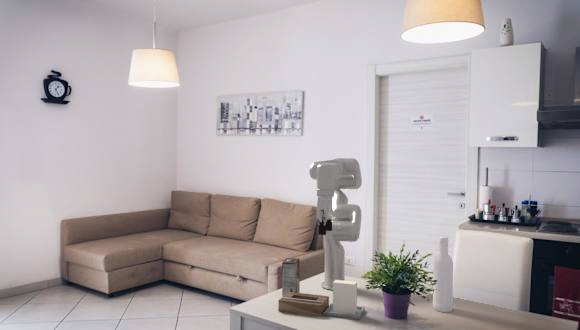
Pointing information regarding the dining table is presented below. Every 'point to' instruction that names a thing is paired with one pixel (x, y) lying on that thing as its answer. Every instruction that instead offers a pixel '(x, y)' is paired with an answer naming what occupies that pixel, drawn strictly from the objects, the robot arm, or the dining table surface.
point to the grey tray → (344, 315)
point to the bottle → (443, 278)
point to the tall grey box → (290, 275)
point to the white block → (345, 296)
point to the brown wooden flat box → (304, 303)
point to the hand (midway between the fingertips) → (325, 232)
